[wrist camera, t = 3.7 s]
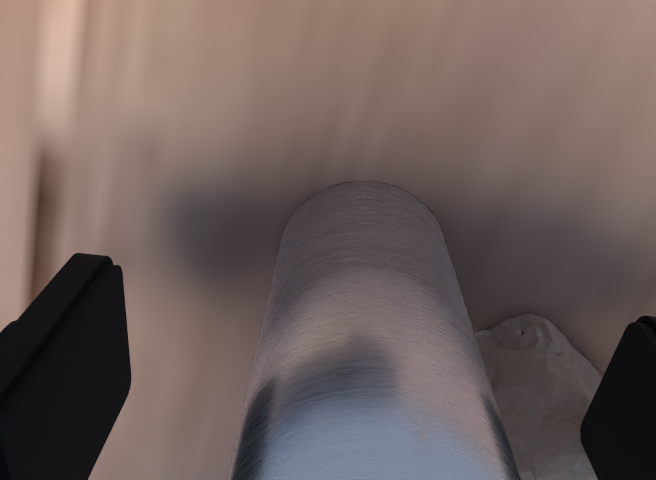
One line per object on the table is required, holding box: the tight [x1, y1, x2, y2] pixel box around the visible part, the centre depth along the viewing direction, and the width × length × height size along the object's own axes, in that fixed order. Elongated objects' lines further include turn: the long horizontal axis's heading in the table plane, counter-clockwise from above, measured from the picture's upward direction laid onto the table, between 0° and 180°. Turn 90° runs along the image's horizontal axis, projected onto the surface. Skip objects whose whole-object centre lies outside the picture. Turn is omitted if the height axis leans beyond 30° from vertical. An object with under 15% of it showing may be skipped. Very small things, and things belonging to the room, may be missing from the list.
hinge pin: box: [228, 181, 521, 480], centre depth 9 cm, size 5×5×11 cm
